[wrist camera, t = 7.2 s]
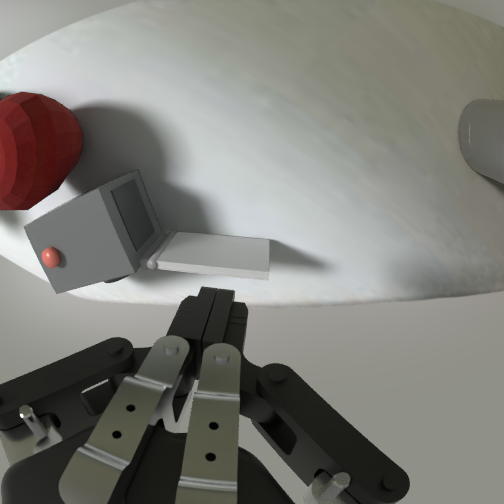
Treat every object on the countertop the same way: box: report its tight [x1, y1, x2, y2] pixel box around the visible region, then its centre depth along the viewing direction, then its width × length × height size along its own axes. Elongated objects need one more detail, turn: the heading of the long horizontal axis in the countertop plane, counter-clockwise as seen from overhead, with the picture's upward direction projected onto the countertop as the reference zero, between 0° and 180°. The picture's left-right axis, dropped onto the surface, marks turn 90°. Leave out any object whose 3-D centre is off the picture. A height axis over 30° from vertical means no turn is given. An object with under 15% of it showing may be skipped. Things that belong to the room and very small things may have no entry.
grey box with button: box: [24, 170, 167, 294], centre depth 28 cm, size 12×9×9 cm
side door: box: [147, 230, 269, 280], centre depth 29 cm, size 1×11×7 cm, turn 86°
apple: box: [0, 92, 82, 210], centre depth 23 cm, size 12×12×13 cm
